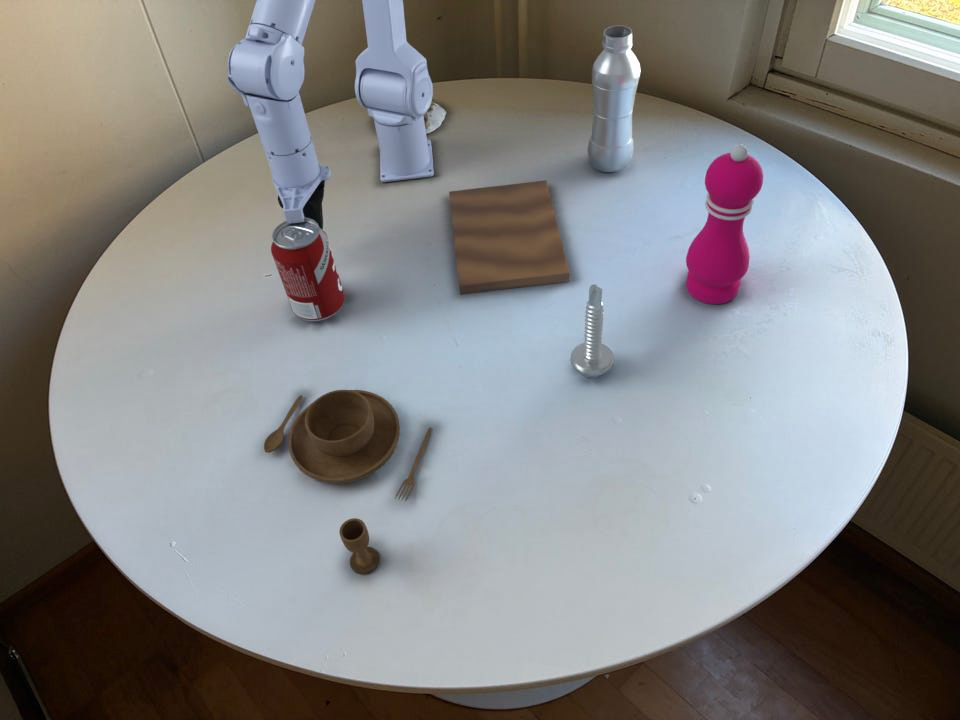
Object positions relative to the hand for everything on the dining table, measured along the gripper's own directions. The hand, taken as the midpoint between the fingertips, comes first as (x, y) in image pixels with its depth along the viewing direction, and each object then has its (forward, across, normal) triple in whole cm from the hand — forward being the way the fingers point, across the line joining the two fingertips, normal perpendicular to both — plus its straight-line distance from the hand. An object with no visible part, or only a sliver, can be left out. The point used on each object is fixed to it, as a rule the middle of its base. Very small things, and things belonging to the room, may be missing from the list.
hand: (314, 232), depth 100 cm
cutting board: (+5, 0, -25) cm, 25 cm away
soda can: (+5, -9, 0) cm, 10 cm away
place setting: (+5, -35, -4) cm, 35 cm away
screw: (+5, -24, -32) cm, 41 cm away
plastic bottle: (+5, +15, -42) cm, 44 cm away
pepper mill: (+5, -13, -49) cm, 51 cm away
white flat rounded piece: (+5, +33, -12) cm, 36 cm away
